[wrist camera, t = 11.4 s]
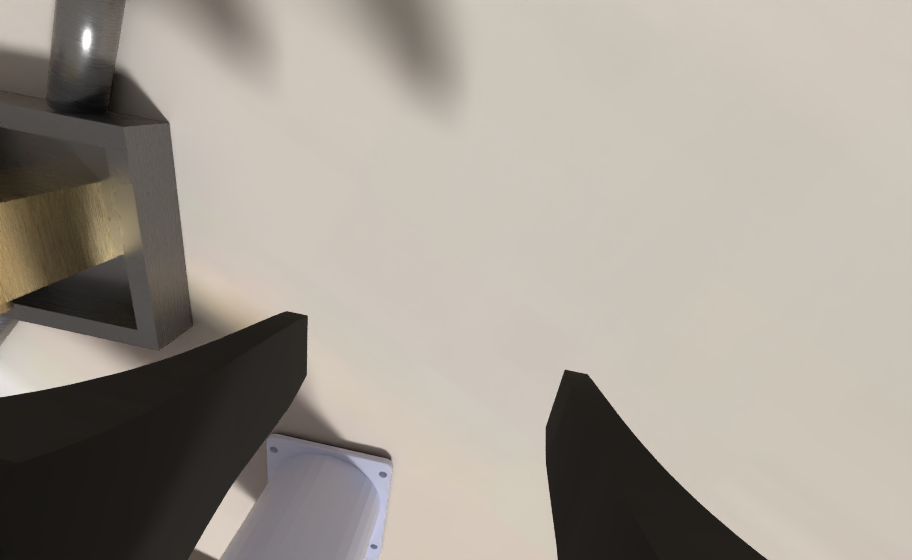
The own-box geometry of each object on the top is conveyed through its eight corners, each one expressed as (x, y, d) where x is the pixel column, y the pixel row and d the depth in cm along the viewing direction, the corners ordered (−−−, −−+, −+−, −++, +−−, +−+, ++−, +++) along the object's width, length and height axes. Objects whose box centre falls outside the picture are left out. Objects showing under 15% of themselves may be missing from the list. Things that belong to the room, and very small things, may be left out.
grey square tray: (192, 326, 24) (158, 350, 22) (12, 287, 25) (-39, 307, 22) (169, 123, 19) (123, 126, 17) (-52, 81, 20) (-124, 79, 18)
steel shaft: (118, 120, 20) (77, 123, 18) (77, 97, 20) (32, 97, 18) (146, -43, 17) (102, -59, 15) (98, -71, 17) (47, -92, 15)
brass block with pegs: (120, 277, 23) (-5, 335, 17) (50, 263, 23) (-95, 316, 17) (96, 156, 20) (-60, 179, 15) (17, 141, 20) (-165, 158, 15)
